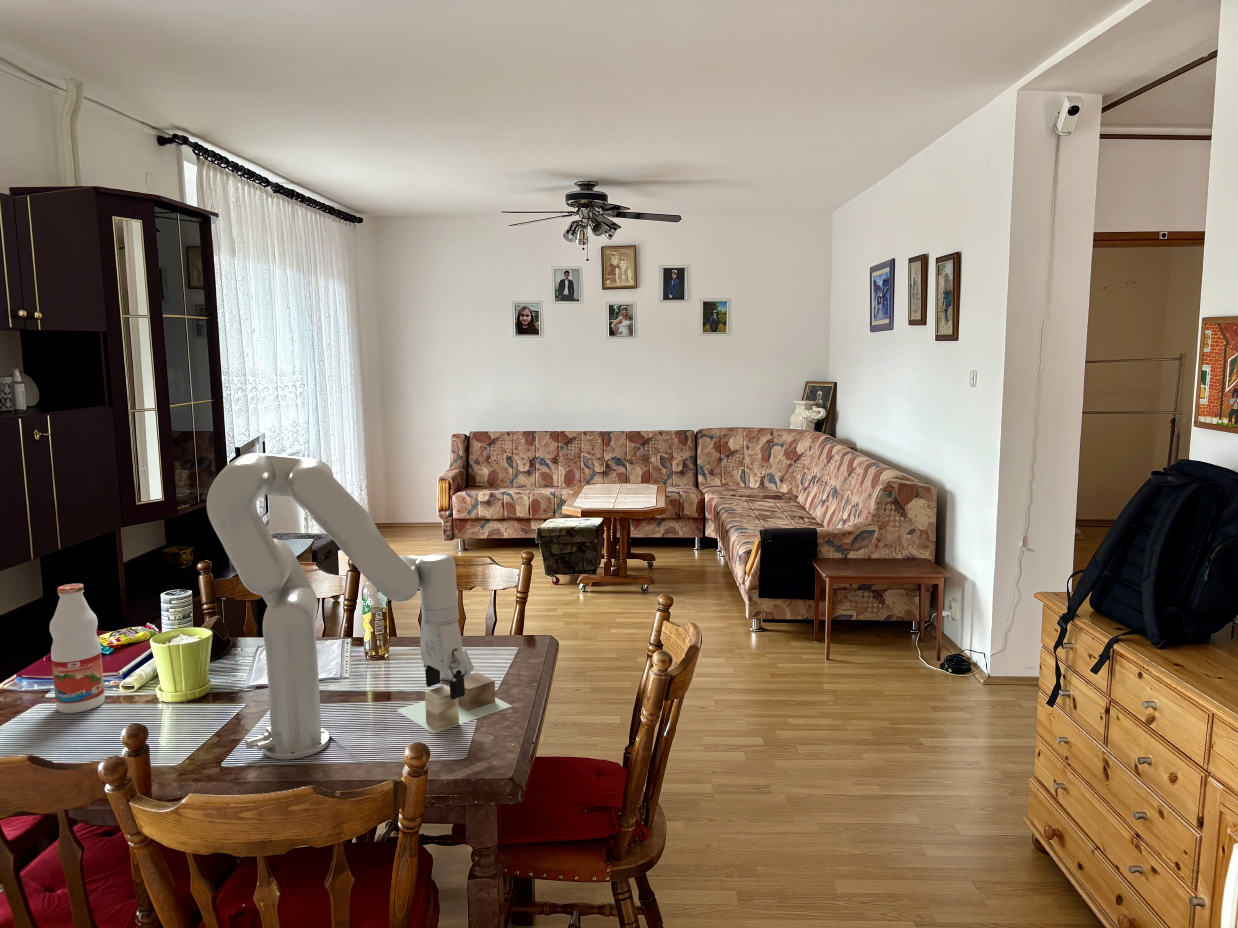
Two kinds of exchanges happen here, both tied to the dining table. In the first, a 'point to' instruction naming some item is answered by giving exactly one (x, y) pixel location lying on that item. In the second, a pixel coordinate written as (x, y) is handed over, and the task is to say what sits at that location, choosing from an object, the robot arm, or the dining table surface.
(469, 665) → the die
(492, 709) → the build board
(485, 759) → the dining table surface
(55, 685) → the fruit juice
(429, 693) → the maple block
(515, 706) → the dining table surface
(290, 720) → the robot arm
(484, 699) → the walnut block
